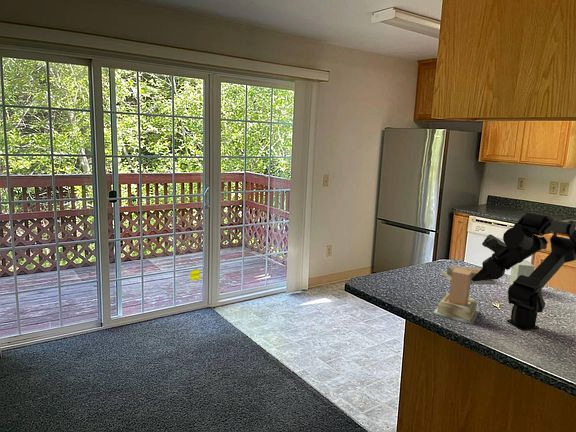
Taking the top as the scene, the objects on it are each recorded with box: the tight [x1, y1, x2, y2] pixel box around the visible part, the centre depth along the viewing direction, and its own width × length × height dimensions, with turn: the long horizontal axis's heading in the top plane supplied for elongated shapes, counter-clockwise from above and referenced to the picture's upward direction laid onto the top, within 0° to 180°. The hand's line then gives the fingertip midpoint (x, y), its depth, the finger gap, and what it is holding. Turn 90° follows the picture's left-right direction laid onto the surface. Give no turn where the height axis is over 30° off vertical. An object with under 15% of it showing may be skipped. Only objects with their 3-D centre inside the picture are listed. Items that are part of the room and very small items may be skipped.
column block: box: [448, 268, 472, 307], centre depth 139 cm, size 5×5×11 cm
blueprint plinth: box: [432, 293, 481, 325], centre depth 140 cm, size 12×12×4 cm
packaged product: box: [441, 266, 496, 285], centre depth 175 cm, size 18×5×10 cm
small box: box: [508, 259, 535, 287], centre depth 166 cm, size 8×6×10 cm
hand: (476, 276), depth 136 cm, fingers open, 9 cm apart
